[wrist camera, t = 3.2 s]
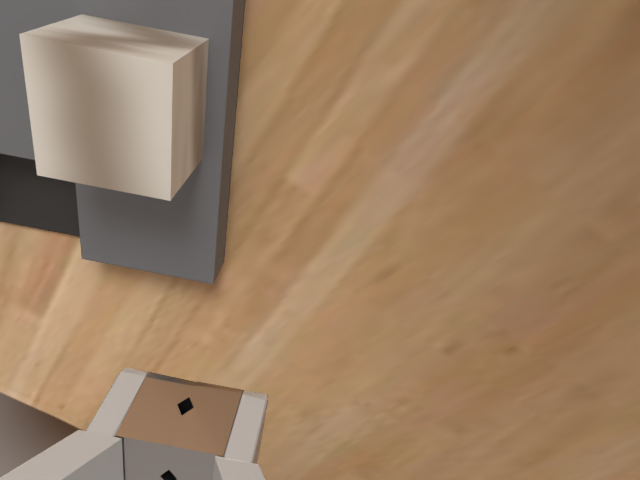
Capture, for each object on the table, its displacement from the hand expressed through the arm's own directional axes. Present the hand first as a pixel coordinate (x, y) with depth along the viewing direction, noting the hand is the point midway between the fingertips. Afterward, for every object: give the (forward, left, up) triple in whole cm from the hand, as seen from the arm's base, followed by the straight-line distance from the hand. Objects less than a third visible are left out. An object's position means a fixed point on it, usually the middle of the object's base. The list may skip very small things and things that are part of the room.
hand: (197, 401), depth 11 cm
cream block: (+8, 0, -18) cm, 20 cm away
